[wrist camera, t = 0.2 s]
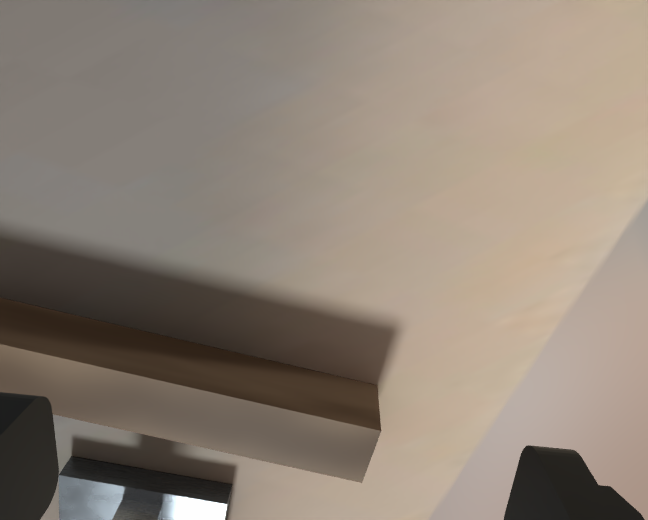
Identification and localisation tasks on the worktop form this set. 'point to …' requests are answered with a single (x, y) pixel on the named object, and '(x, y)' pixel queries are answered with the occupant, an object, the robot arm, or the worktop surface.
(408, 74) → the worktop surface
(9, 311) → the walnut beam
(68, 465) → the stand
